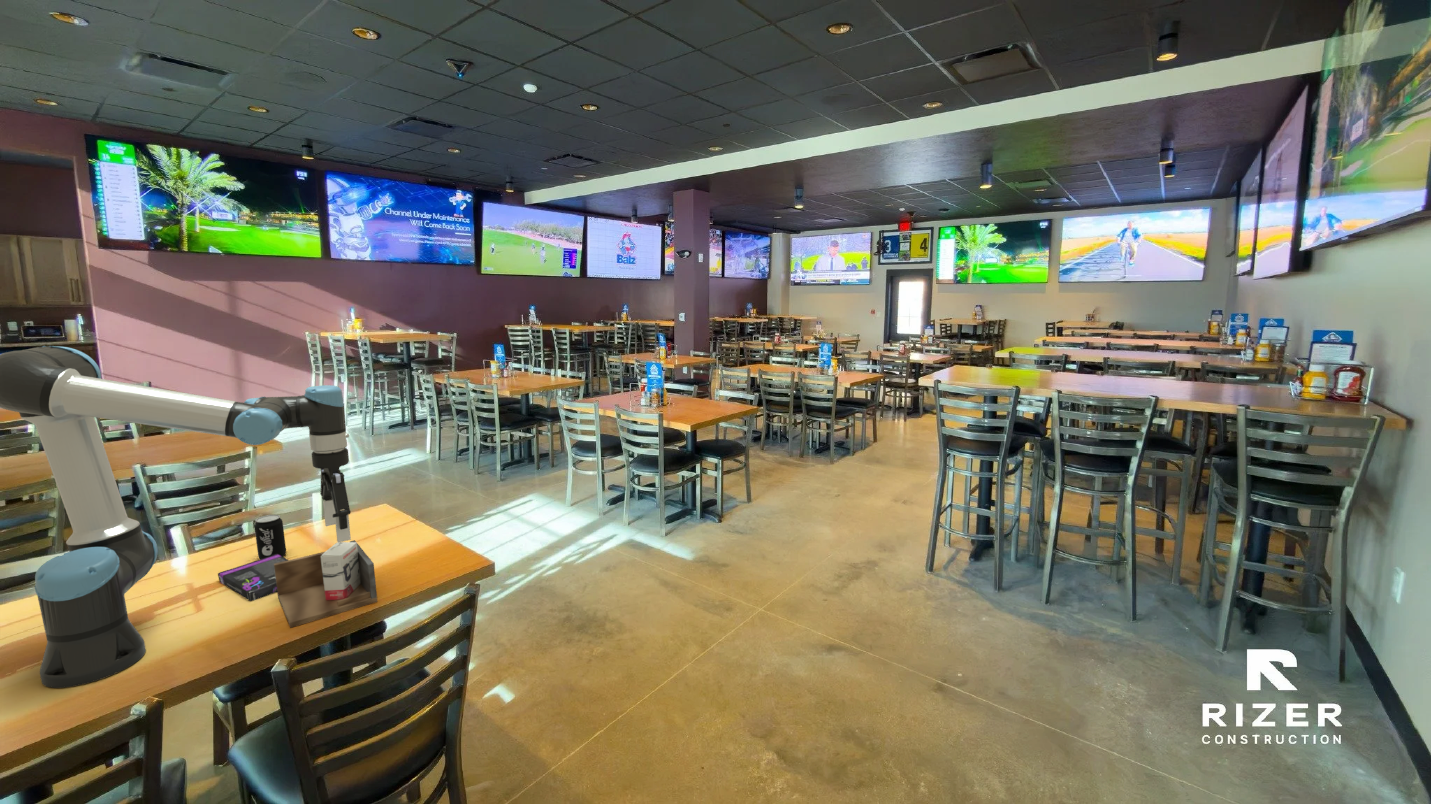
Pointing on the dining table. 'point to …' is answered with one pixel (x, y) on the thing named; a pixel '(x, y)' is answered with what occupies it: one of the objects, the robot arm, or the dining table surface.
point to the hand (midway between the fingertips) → (337, 532)
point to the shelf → (319, 589)
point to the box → (253, 578)
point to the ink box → (340, 570)
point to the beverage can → (270, 536)
